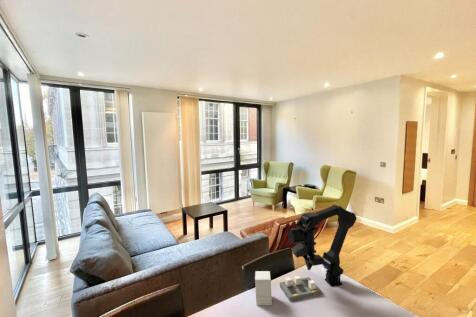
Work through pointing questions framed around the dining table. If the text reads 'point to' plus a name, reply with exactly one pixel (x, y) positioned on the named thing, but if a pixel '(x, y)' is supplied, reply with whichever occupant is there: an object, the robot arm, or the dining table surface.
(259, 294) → the supplement box
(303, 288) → the switch panel
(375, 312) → the dining table surface
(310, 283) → the switch tab
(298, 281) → the switch tab
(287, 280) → the switch tab
